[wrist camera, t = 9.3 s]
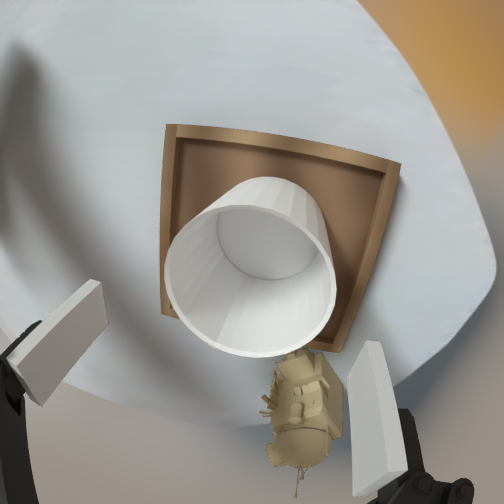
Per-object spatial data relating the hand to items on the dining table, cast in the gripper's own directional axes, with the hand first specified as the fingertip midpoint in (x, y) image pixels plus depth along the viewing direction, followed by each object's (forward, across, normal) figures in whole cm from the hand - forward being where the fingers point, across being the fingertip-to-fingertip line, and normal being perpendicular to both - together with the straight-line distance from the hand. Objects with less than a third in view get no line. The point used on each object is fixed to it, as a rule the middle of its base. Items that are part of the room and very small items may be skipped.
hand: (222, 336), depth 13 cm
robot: (+13, +7, -16) cm, 22 cm away
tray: (+13, +1, 0) cm, 13 cm away
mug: (+12, 0, 0) cm, 12 cm away
